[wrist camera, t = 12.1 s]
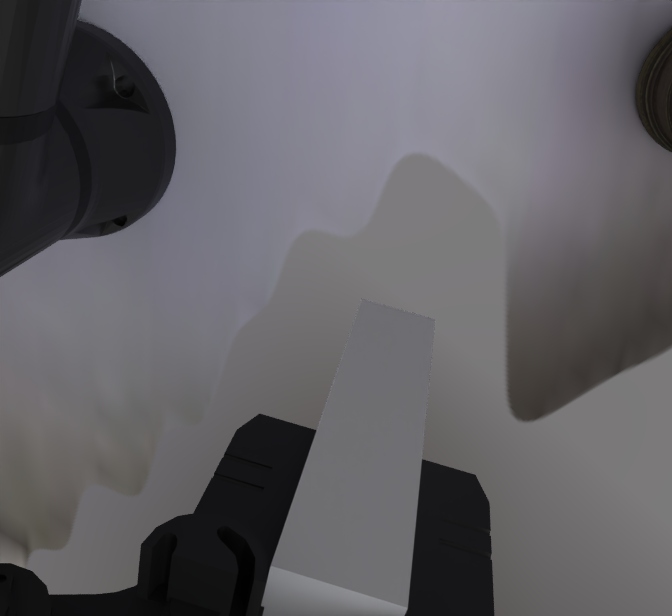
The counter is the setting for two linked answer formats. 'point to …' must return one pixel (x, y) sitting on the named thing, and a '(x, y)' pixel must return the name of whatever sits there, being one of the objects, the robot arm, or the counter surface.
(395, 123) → the counter surface
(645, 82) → the container
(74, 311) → the counter surface
